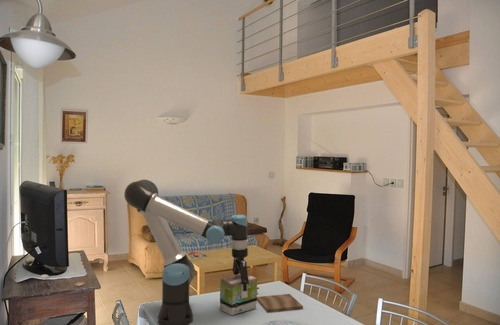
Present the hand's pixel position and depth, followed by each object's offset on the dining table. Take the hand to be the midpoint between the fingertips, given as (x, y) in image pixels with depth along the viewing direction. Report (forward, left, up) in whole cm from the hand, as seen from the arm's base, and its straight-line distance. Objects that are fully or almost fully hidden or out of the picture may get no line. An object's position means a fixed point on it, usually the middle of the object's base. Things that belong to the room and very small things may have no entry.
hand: (240, 292), depth 190 cm
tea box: (-1, 0, -8) cm, 8 cm away
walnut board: (+20, +1, -8) cm, 22 cm away
